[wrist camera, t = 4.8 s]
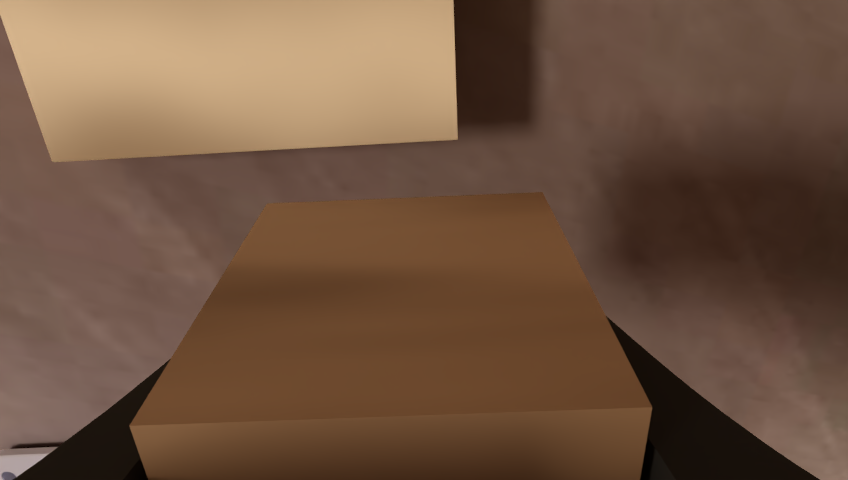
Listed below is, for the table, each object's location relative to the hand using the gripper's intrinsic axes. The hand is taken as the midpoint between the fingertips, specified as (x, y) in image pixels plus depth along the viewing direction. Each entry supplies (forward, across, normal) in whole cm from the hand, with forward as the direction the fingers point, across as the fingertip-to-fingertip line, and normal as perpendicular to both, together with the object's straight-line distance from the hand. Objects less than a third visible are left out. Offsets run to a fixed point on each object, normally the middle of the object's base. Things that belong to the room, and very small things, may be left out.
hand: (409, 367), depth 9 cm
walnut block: (+2, 0, 0) cm, 2 cm away
